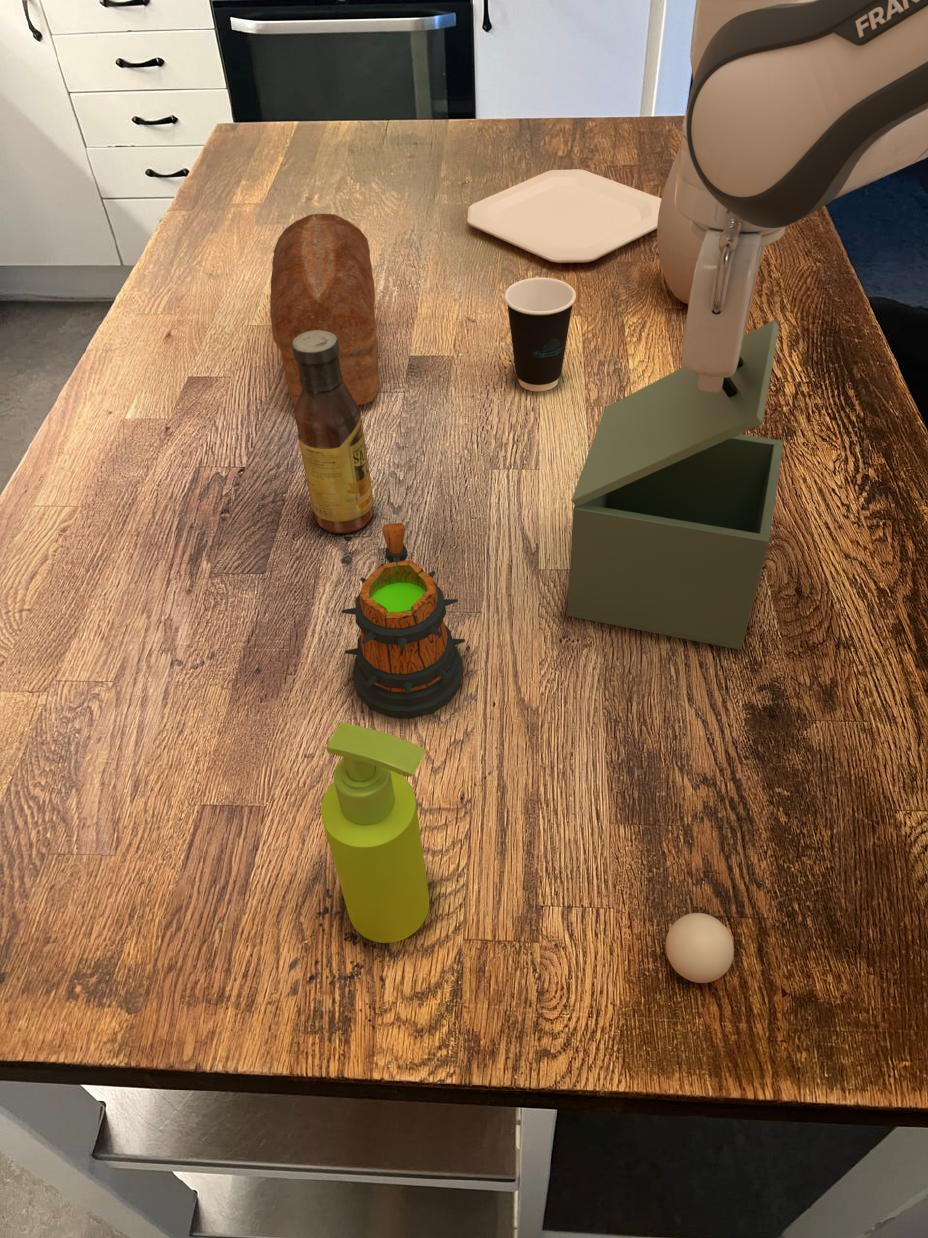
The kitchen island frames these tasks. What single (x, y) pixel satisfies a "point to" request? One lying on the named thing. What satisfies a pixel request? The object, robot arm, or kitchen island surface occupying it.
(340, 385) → the sauce bottle
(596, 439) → the bin lid
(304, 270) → the bread
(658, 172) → the kitchen island surface
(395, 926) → the soap dispenser
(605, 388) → the kitchen island surface
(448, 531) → the kitchen island surface
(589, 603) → the bin
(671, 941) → the beige ball
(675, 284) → the vase
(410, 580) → the mug
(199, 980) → the kitchen island surface
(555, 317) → the dixie cup
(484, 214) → the plate
